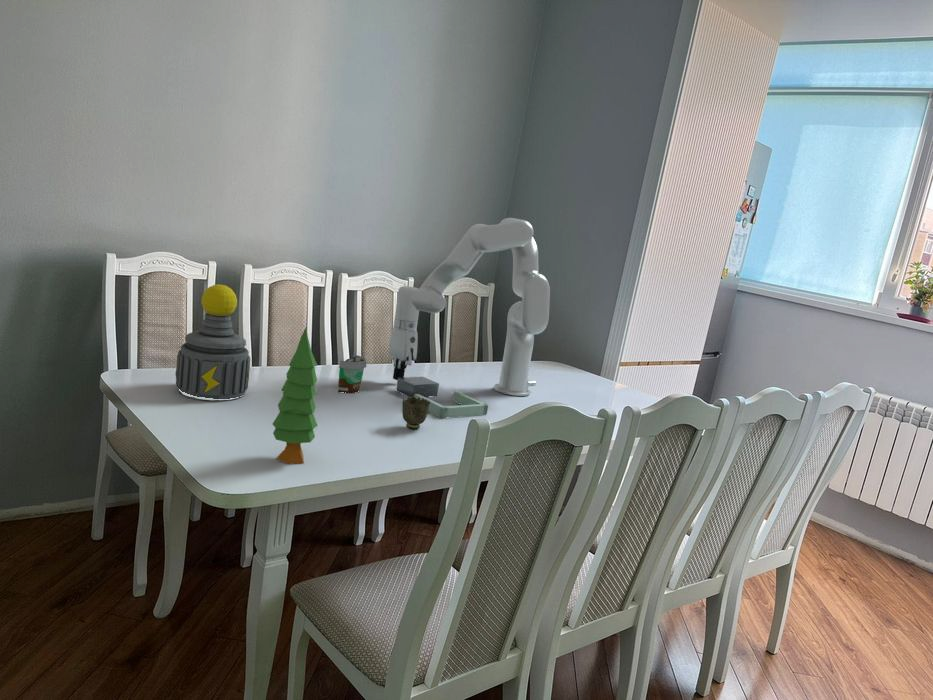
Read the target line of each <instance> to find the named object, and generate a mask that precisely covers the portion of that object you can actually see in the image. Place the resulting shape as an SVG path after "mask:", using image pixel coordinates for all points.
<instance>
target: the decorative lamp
mask: <svg viewBox="0 0 933 700" xmlns="http://www.w3.org/2000/svg"><path fill="white" fill-rule="evenodd" d="M237 298H238V297H237V295H236V293H235V292H234V290H233V289H232V288H231V287H229V286H227V285H225V284H213V285H211V286H209V287H207V289H205V290H204V291H203V294H202V296H201V301H200V302H201V306H202V309H203V310H204V312H205V314H204V319H202V322H201V324H202V326H200V327H199V330H195V331H192V332H189V333H187V334H186V335H185V337H184V341H185V343H183V344H182V345H180V349H179V350H178V352H177V355H176V369H175V384H176V387H177V389H178V388H179V389H180V390H181V391H182V392H185V393H187V394H190V395H193V396H197V397H205V398H213V399H230V398H236V397H240V396H242V395H243V394H244V393H245V394H246V391H248V388H249V380H250V372H251V357H250V355H249V350H248V349H247V348H246V346H247V341H246V339H245V337H242V336H241V335H239V334H237V333H235V332H234V329H233V322H232V316H231V315H232V314H233V313H234V312H235V310H236V308H237V306H238V299H237ZM245 394H244V395H245ZM244 395H243V396H244ZM243 396H242V397H243ZM240 398H241V397H240Z"/></svg>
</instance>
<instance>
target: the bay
mask: <svg viewBox="0 0 933 700" xmlns="http://www.w3.org/2000/svg"><path fill="white" fill-rule="evenodd" d="M414 397H415V398H417V399H418V398H420V401H421V400H422V399H423V398H424V400H425V399H427V402H428V401H429V402H430V406H429V410H428V413H431V414H433V415H435V416H437V417H439V416H440V417H439V418H441V417H442V418H441V419H447V418H446V417H454V418H460V417H459V416H466V417H475V415H477V416H487V415H488V411H489V410H488V408H489V404H486V403H484V402H482V401H479V400H477V399H475V398H473V397H471V396H469V395H467V394H464V393H462V392H460V391H454V393H453V400H452V401H453V402H454V401H455V402H454V403H456V402H457V404H458V403H460V404H462V405H460V404H459V405H449V406H448V405H447V406H444V405H442V404H440V403H439V402H436V401H434V400H432V399H430V398H429V397H424V396H422V395H420V394H415V395H414ZM486 414H487V415H486Z"/></svg>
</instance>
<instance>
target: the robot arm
mask: <svg viewBox="0 0 933 700" xmlns="http://www.w3.org/2000/svg"><path fill="white" fill-rule="evenodd" d="M507 250H511V252H512V253H511V254H512V258H513V259H512V281H511V282H512V290H513V292H514V294H515V295H516V296H518V297H520V298H521V299H522V300H520V301H517V302H515V303H514V304H512V305H511V306H510V307H509V310H508V313H507V324H506V326H507V327H506V328H507V329H506V338H505V344H504V351H503V357H502V362H501V370H500V376H499V382H498V383H495V384H494V385H493V389H494V391H496V392H498V393H501V394H505V395H508V396H513V397H514V396H517V397H526V396H529V395H530V394H531V390H530V389H529V388H530V387H535V386H537V382H536V380H530V379H529V377H528V376H529V374H530V373H529V372H530V367H531V359H532V354H533V350H534V349H533V348H534V342H535V335H539V334H541V333H542V332H544V331H545V330H546V329H547V327H548V324H549V318H550V300H551V299H550V298H551V288H550V284H549V281H548V279H547V278H546V277H545V276H544V275H543V274H541V273H539V271H540V270H539V249H538V245H537V242H536V241H535V238H534V228H533V225H532V224H531V223H530V222H529V221H527V220H525V219H522V218H521V219H519V218H514V217H508V218H507V217H506V218H504V219H502V220H501V221H500V222H499V223H498V224H484V223H476V224H474V225H471V227H469V229H468V230H467V232H465V234H464V235H463V237H462V238H461V239H460V240H459V242H458V243H457V245H456V246H455V247H454V248H453V250H452V251H451V252H450V253H449V255H448V256H447V257H446V258H445V260H443V261H442V262H441V263H440V264H439V265H438V266H437V267H436V268H435V269H434V270H432V272H431V273H429V275H428V276H427V277H426V278H425V280H424V281H423V283H422V284H421V285H420V287H419V288H418V287H415V286H410V285H409V286H408V285H406V286H405V285H402V286H400V287H399V289H398V292H397V298H396V299H397V300H396V307H395V315H394V320H393V328H392V331H391V335H390V340H389V345H388V354H389V355H390V356H389V357H390V359H391V360H392V361H393V375H392V379H393V380H394V381H398V378H404V377H405V372H406V369H407V366H412V363H413V362H414V361H416V360H417V357H418V356H417V354H418V339H419V338H418V336H419V335H418V331H417V327H418V322H419V315H420V312H425V313H429V314H438V313H440V312H442V311H444V309H445V308H446V305H447V300H446V296H445V295H444V294H443V292H445V290H446V289H447V288H448V287H449V286H450V285H451V284H452V283H453V282H455V281H457V280H459V279H461V278H463V277H466V276H467V275H469V273H471V271H472V270H473V268H474V266H475V265H476V264H477V262H478V261H479V260H480V258H481V257H482V256H483V255H484V253H494V252H501V251H507Z"/></svg>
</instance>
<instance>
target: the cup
mask: <svg viewBox="0 0 933 700" xmlns="http://www.w3.org/2000/svg"><path fill="white" fill-rule="evenodd" d="M401 399H402V405H401V406H402V409H401V411H402V412H401V413H402V414H401V415H402V418H403V420H404V421H405V422H406V424H405V426H406V428H407V429H409V430H412V431H417V430H420V427H421V426H420V425H421V424H423V423H424V422H425V421H426V418H427V415H428V413H429V411H428V410H429V406H430V402H429V401H428V402H427V399H425V400H424V398H423V399H422V400H421V401H420V398H418V399H417V398H415V397H414V396H412V397H409V396H407V397H406V399H405V397H402V398H401Z"/></svg>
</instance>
